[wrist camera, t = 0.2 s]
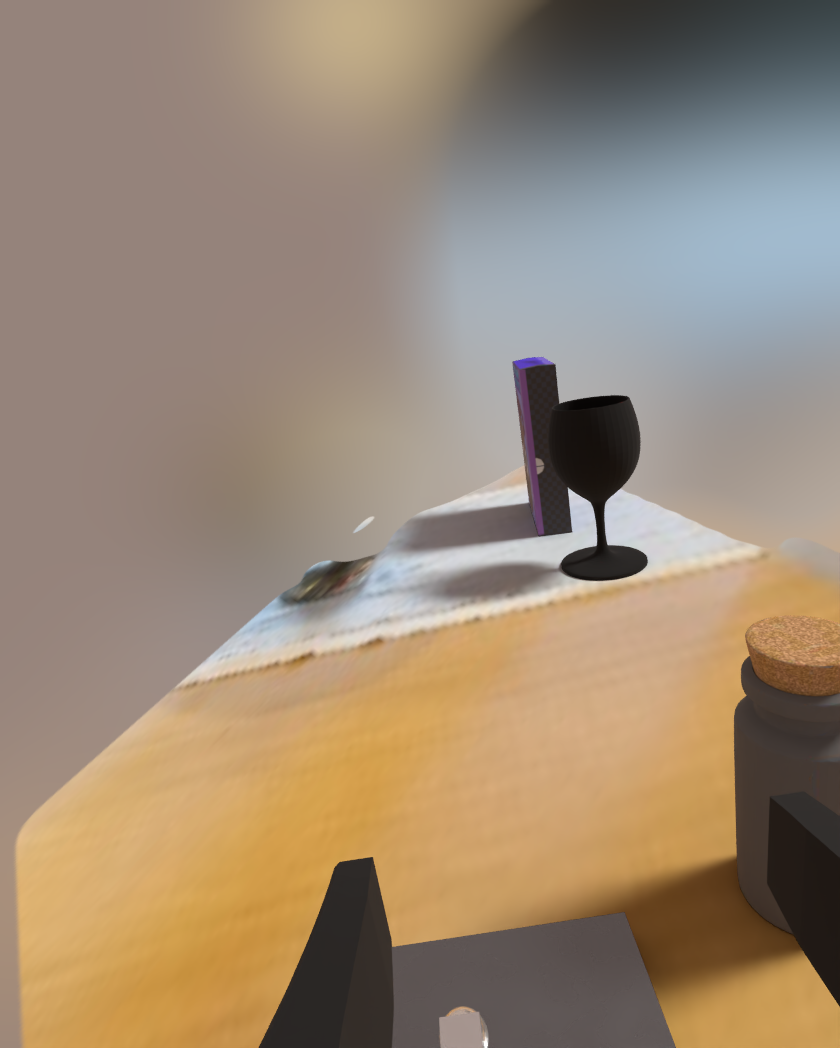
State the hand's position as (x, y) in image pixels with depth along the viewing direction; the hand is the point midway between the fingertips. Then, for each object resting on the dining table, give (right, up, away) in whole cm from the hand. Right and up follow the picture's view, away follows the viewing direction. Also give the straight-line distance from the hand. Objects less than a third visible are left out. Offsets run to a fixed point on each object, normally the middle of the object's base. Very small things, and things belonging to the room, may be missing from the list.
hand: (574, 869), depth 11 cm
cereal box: (+18, +7, +88) cm, 90 cm away
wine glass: (+20, +1, +67) cm, 70 cm away
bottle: (+17, -13, +22) cm, 31 cm away
